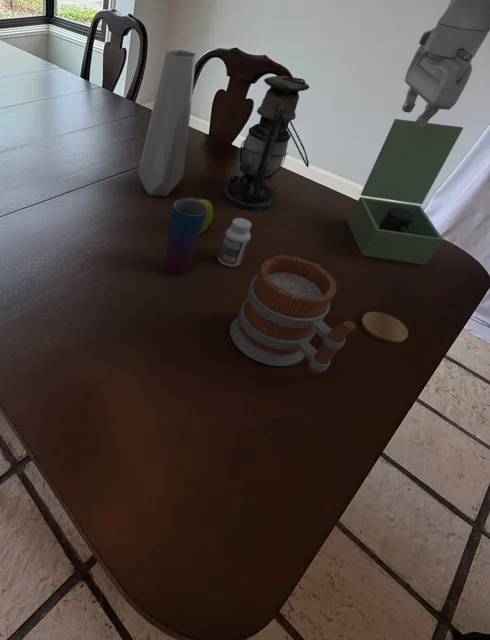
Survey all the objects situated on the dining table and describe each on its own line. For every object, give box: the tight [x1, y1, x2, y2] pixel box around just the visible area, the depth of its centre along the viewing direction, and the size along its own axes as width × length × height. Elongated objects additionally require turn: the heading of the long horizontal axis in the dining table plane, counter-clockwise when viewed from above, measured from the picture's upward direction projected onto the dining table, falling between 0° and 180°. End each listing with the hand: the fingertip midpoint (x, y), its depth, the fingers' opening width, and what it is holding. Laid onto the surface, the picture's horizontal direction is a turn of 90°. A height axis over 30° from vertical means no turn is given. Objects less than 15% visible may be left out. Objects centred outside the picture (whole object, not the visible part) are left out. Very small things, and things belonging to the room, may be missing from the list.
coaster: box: [360, 311, 409, 344], centre depth 87 cm, size 8×8×1 cm
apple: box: [187, 193, 214, 234], centre depth 106 cm, size 8×8×10 cm
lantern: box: [220, 75, 310, 212], centre depth 112 cm, size 19×19×30 cm
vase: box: [137, 49, 197, 197], centre depth 111 cm, size 12×12×33 cm
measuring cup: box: [379, 208, 414, 233], centre depth 106 cm, size 8×6×7 cm
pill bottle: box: [217, 217, 252, 268], centre depth 97 cm, size 5×5×10 cm
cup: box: [163, 198, 208, 277], centre depth 92 cm, size 7×7×15 cm
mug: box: [229, 254, 356, 376], centre depth 76 cm, size 14×19×15 cm
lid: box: [360, 118, 464, 205], centre depth 108 cm, size 18×15×5 cm
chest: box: [346, 196, 445, 266], centre depth 108 cm, size 17×15×7 cm
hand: (412, 118), depth 96 cm, fingers open, 8 cm apart
